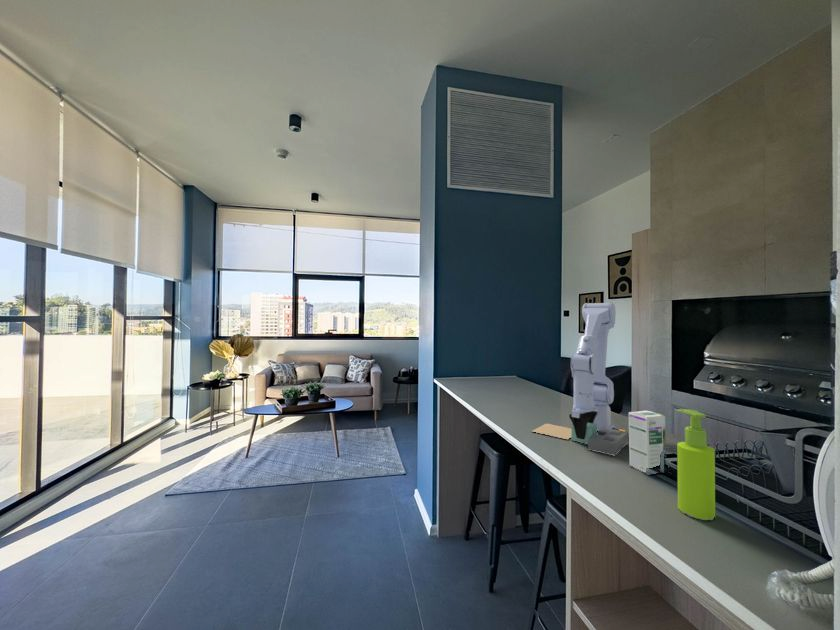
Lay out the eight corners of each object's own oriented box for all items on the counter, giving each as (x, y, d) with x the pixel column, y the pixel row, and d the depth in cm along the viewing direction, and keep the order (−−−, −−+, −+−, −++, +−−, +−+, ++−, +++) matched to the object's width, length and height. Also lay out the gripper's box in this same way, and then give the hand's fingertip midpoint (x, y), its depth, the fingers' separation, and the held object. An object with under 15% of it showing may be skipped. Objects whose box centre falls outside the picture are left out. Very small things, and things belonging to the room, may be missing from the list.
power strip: (602, 438, 114) (602, 425, 114) (627, 443, 109) (627, 430, 109) (588, 450, 104) (588, 436, 104) (614, 456, 99) (614, 442, 99)
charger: (577, 437, 115) (577, 420, 115) (605, 443, 109) (605, 425, 109) (571, 441, 111) (571, 423, 111) (600, 447, 106) (600, 429, 106)
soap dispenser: (694, 502, 75) (693, 406, 75) (723, 521, 68) (722, 415, 68) (666, 502, 74) (666, 407, 75) (693, 521, 67) (692, 416, 68)
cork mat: (546, 424, 129) (546, 423, 129) (580, 431, 121) (580, 430, 121) (531, 432, 120) (531, 431, 120) (567, 440, 112) (567, 439, 112)
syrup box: (648, 476, 87) (648, 416, 87) (628, 466, 92) (628, 410, 92) (666, 473, 88) (666, 415, 88) (645, 464, 94) (645, 409, 94)
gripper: (589, 398, 103) (589, 445, 103) (604, 390, 114) (604, 433, 114) (564, 394, 108) (564, 439, 108) (581, 387, 119) (581, 428, 119)
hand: (583, 436), depth 111 cm, fingers closed on charger, 5 cm apart
